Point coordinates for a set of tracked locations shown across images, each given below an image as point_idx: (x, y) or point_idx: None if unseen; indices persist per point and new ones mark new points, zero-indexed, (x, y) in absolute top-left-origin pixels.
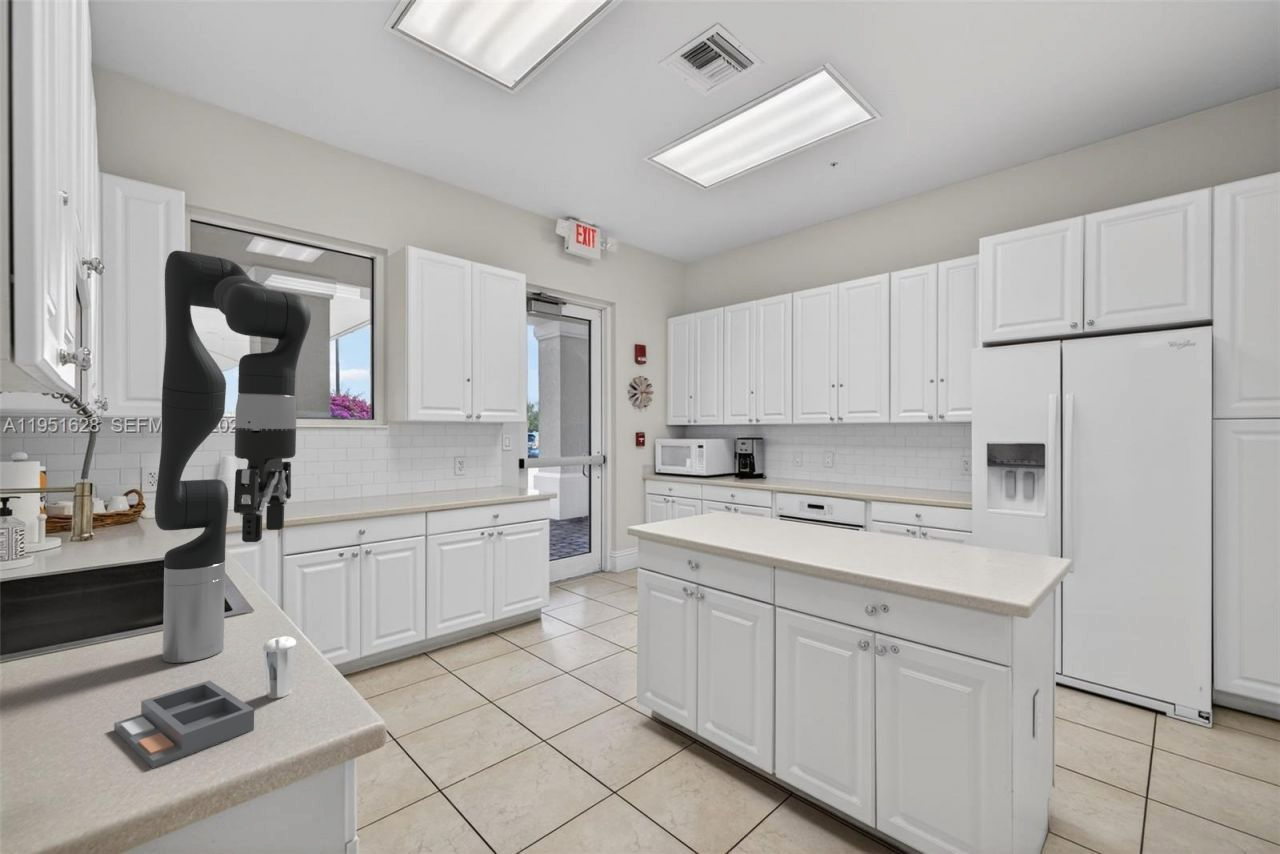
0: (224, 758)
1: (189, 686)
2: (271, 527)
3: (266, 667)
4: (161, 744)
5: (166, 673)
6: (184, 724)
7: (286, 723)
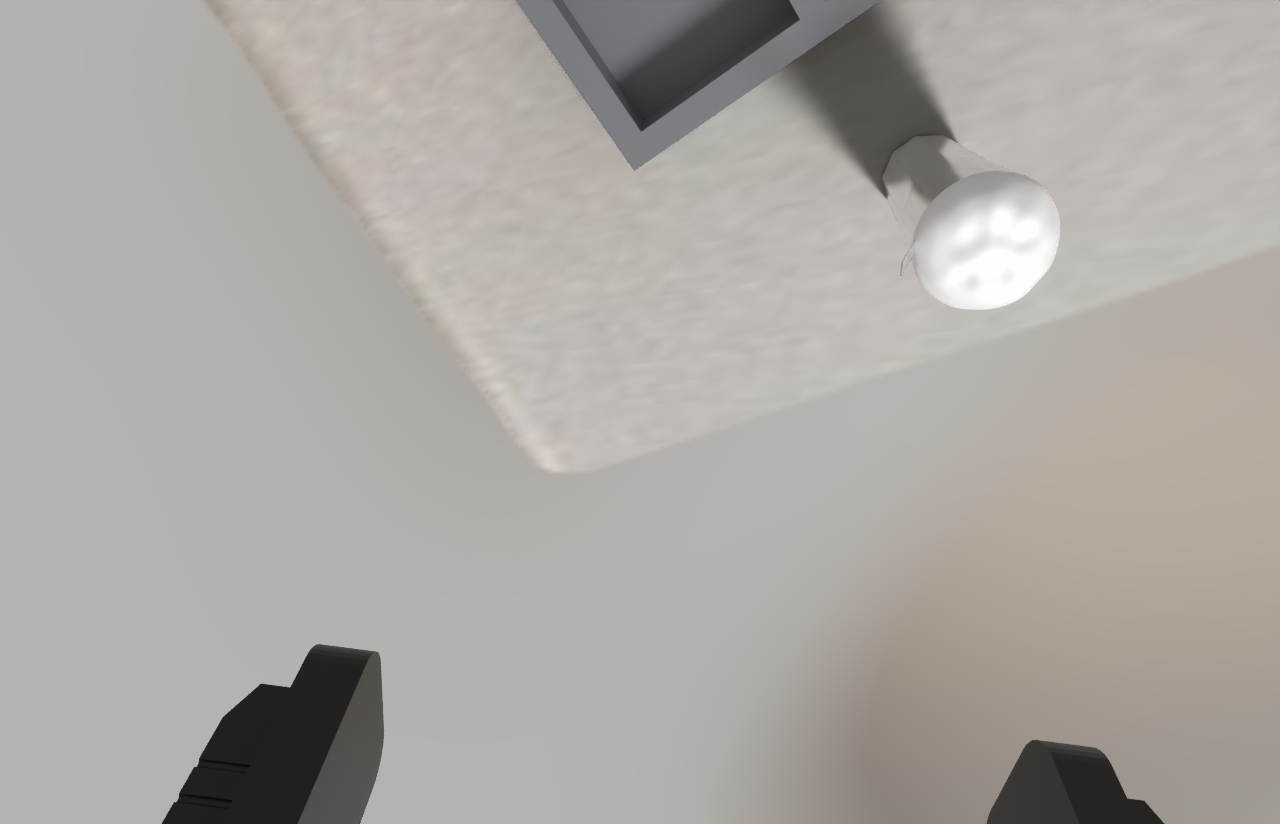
0: (459, 105)
1: None
2: (1027, 788)
3: (937, 166)
4: None
5: None
6: None
7: (651, 246)
